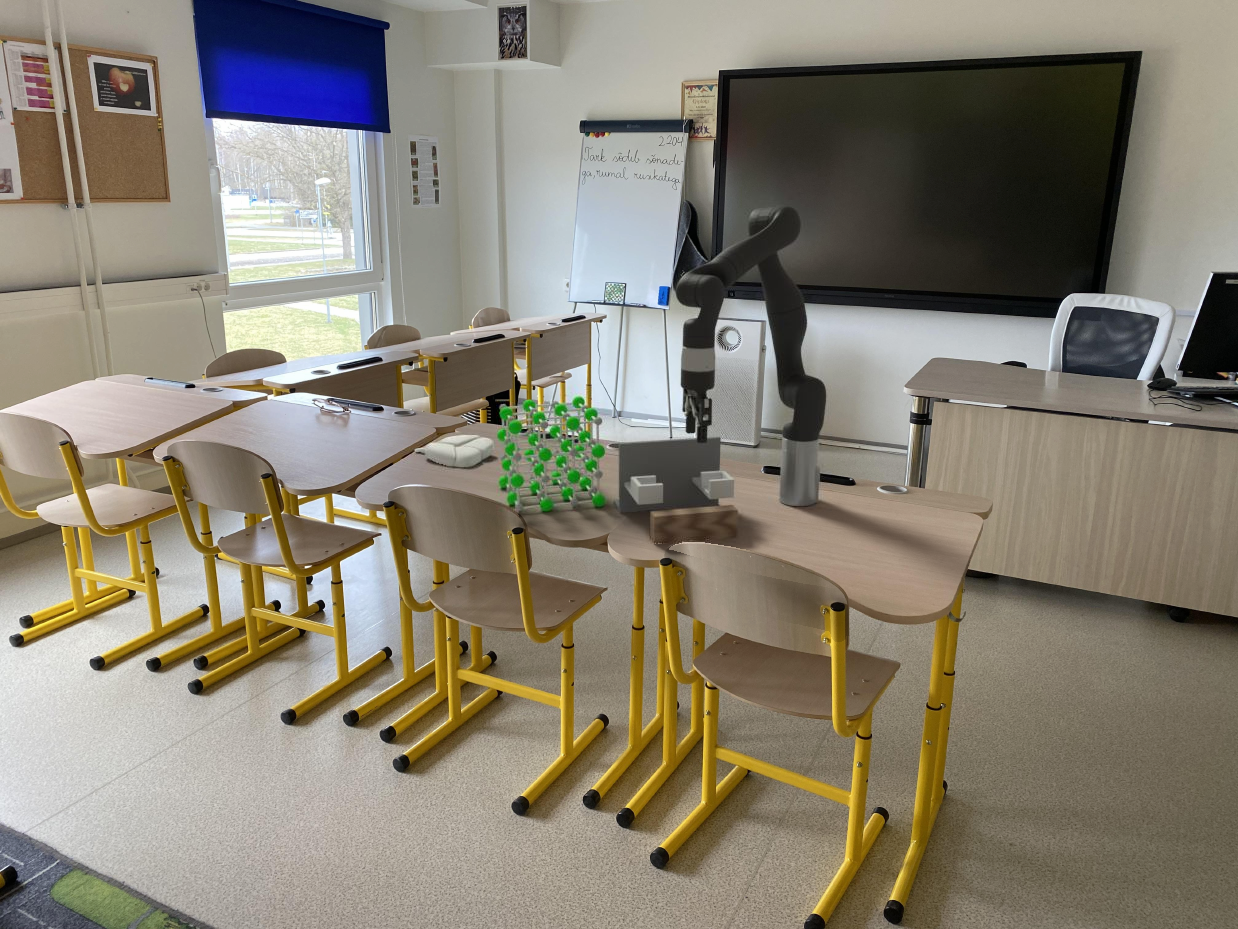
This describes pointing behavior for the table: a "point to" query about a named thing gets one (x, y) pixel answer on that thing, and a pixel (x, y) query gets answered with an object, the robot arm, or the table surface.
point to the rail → (693, 524)
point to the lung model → (459, 450)
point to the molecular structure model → (546, 454)
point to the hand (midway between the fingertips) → (696, 437)
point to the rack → (671, 475)
